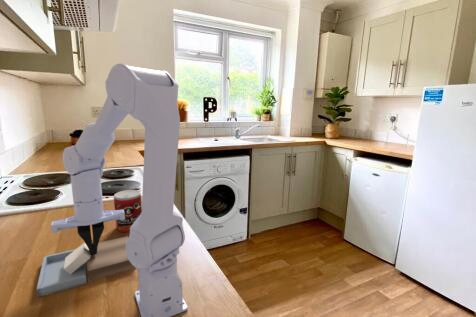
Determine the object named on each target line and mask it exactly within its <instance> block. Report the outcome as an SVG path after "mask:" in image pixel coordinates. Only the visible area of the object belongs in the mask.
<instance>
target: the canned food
mask: <svg viewBox="0 0 476 317" xmlns="http://www.w3.org/2000/svg"><path fill="white" fill-rule="evenodd" d="M113 205H114V210H122V209H123V210H124V212H125V219H124V220H120V219H119V220H115V226H116V230H118V232H120V233H130V227H131V226H132V224H133V223H134V222H135V221H136V219H137V218H138V217H139V216H140V214H141V213H142V194H141V191H140V190H137V189H125V190H120V191H118V192H116V193H114V195H113Z"/></svg>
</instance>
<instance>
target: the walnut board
mask: <svg viewBox="0 0 476 317" xmlns="http://www.w3.org/2000/svg"><path fill="white" fill-rule="evenodd" d="M128 238H129V236H128V235H126V236H123V237H118V238H112V239H108V240H105V241H99V243H98V248H97V254H95V255H90V259H88V260H87V261H86V277H87V282H91V281H95V280H98V279H102V278H105V277H108V276H109V277H110V276H113V275H116V274H120V273H122V272H126V271H130V270H134V269H137V268H136V267H134V266H133V265H132V264H131V263H130V261H129V259H128V257H127V255H126V242H127V240H128Z"/></svg>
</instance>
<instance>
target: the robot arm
mask: <svg viewBox="0 0 476 317" xmlns="http://www.w3.org/2000/svg"><path fill="white" fill-rule="evenodd" d="M105 90H106V95H107V97H106V98H105V101H104V104H103V106H102V107H101V110H100V112H99V113H98V114H99V115H98V117H97V119H96V121H95V122H90V123H88V124H86V125H85V127H84V129H83V131H82V132H81V134H80V136H79V137H78V139H77V141H76V142H75V144H74V145H70V146H67V147H65V148H64V149H63V152H62V163H63V164H62V165H63V167H64V169H65V171H66V172H67V173H68V174H69V175H70V183H71V191H72V192H71V193H72V200H73V210H74V216H70V217H66V218H63V219H58V220H54V221H53V220H52V221H51V224H50V226H51V233H52V234H56V233H58V232H60V231H65V230H66V231H67V230H70V229H76V228H77V235H78V236H79V237H80V238H81V239H82V240H83V243H85V244H86V245H87V247H88V249H89V251H90V255H95V254H97V248H98V243H99V242H100V240H101V237H102V234H103V233H104V230H105V223H107V222H108V223H109V222H113V221H116V220H119V219H120V220H124V219H125V212H124V210H123V209H122V210H115V209H114V210H104V203H103V201H104V200H103V199H104V198H103V190H102V181H101V180H102V177H103V175H104V167H105V165H106V158H105V155H106V153H107V152H108V151H109V149H110V148H111V146H112V145H113V143H114V142H115V140H116V135H115V133H114V132H115V130H116V129H117V128H118V127H119V126H120V125H121V123H122V122H123V121H124V120H125V118H126V117H127V116H128V115H130V116H131V117H132V118H133V119H134V120H137V121H139V123H141V125H142V126H143V127H144V149H143V153H144V154H143V171H142V172H143V176H142V194H141V206H142V213H141V214H140V216H139V217H138V218H137V219H136V221H135V222H134V223H133V224H132V226H131V227H130V232H129V236H128V240H127V242H126V255H127V257H128V259H129V261H130V263H131V264H132V265H133V266H134V267H136V268H135V269H137V275H138V288H139V290H136V291H134V296H135V299H136V303H137V306H138V307H137V308H138V309H139V312H140V313H139V314H140V316H141V317H173V316H176V315H177V314H181V313H182V312H183V313H184V312H185V311H188V306H189V305H188V304H187V302H186V301H185V299H184V296H183V282H182V279H181V277H180V275H179V272H178V255H179V254H180V248H181V247H182V246H183V245H184V243H185V239H186V237H185V236H186V234H185V231H184V227H183V220H184V219H183V217H182V216H181V215H180V214H179V213H178V212H176V211H174V204H175V191H176V178H177V177H176V176H177V168H178V167H177V166H178V154H179V141H180V140H179V138H180V127H181V117H180V113H179V106H178V100H179V99H178V97H179V96H178V95H179V84H178V82H177V81H176V80H175V79H174V77H173V76H172V75H171V74H170V73H169V72H168V71H166V70H163V69H162V70H161V69H160V70H156V69H151V68H144V67H138V66H131V65H127V64H125V63H115V65H113V66H112V67H111V69H110V70H109V73H108V75H107V78H106V80H105Z"/></svg>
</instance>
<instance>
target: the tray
mask: <svg viewBox="0 0 476 317" xmlns="http://www.w3.org/2000/svg"><path fill="white" fill-rule="evenodd" d="M76 249H77V248H75V249H71V250H66V251H62V252H57V253H53V254H49V255H44V256H43V260H42V262H41V268H40V272H39V277H38V280H37V281H38V282H37V286H36V295H37V298H38V297H39V298H41V297H40V296H42V297H44V296H43V295H46V294H49V295H51V294H50V293H53V294H55V293H58V292H62V291H66V290H69V289H73V288H77V287H79V286H83V285H86V284H87V283H88V281H87V261H86V262H85V263H84V264H83V265H81V266H80V267H79V268H78V269H77V270H75V271H74V272H73V273H72V274H69V273H68V272H66V271H65V270H64V263H65V258H66V257H67V256H68V255H70V254H71V253H72V252H73V251H74V250H76ZM87 285H88V284H87ZM46 296H47V295H46Z"/></svg>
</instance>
